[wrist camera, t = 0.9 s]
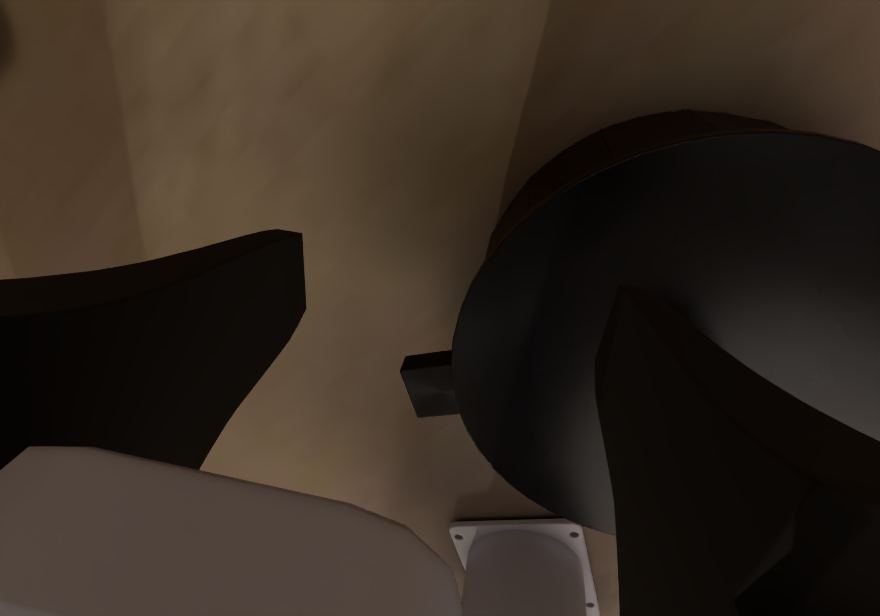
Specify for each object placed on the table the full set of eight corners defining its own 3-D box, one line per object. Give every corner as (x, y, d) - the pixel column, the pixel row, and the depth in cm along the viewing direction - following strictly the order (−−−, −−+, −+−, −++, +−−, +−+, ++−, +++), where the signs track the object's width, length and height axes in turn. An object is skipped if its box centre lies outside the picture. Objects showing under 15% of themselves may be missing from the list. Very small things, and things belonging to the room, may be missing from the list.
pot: (911, 398, 21) (1026, 517, 16) (469, 434, 27) (453, 531, 22) (985, 31, 15) (1214, 38, 10) (386, 178, 21) (334, 232, 15)
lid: (929, 514, 18) (1043, 660, 14) (505, 525, 22) (497, 637, 18) (1053, 43, 11) (1354, 59, 7) (399, 195, 15) (348, 259, 11)
